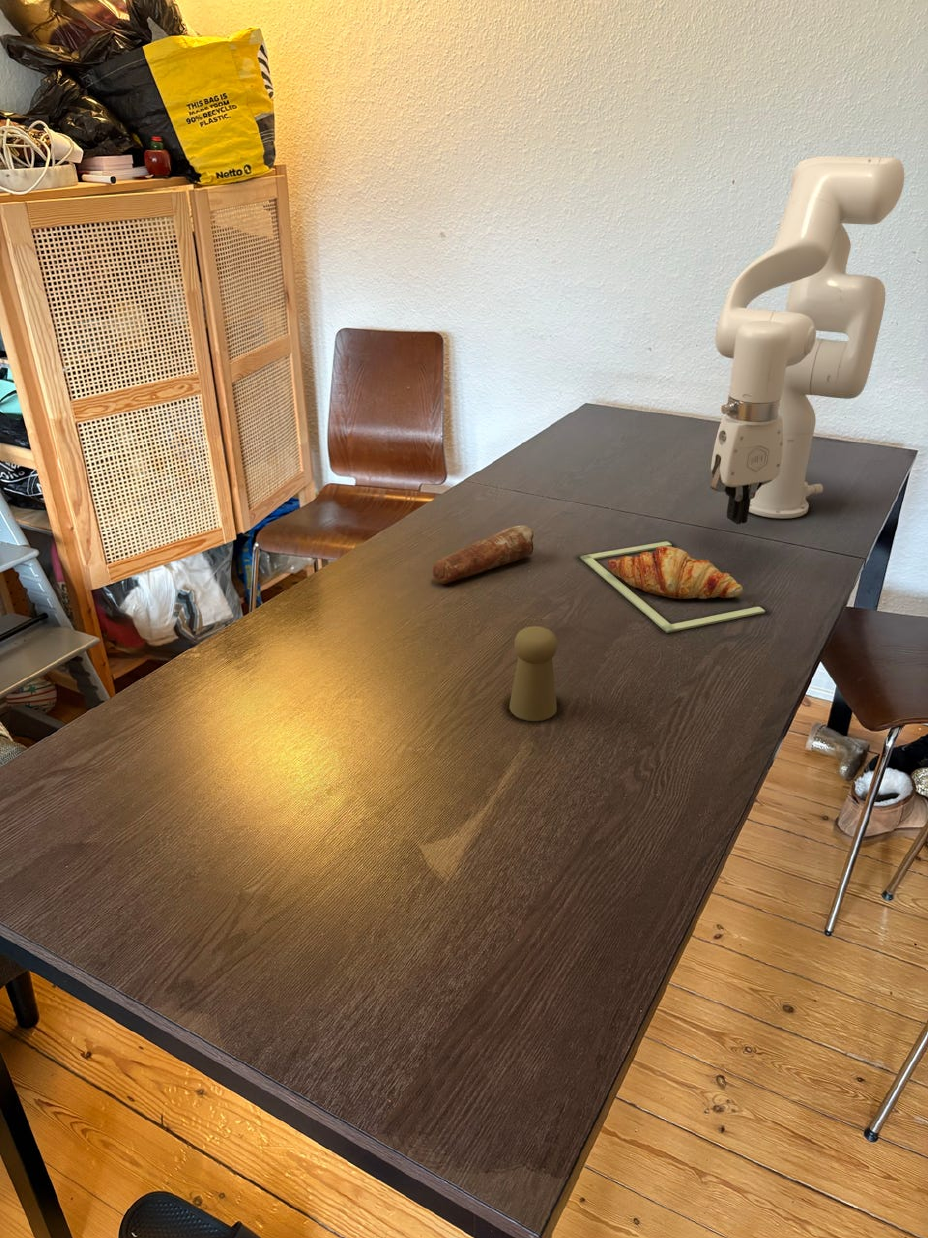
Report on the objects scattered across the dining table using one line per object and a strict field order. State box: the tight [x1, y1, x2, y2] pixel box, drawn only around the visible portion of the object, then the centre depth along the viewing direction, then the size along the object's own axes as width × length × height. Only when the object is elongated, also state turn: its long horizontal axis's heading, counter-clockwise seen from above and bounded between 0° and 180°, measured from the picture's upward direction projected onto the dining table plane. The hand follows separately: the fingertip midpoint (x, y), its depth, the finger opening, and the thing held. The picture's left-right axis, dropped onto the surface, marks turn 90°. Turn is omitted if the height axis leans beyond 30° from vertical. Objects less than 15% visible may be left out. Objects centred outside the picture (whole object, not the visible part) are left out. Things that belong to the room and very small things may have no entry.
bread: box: [432, 524, 534, 585], centre depth 149 cm, size 6×19×6 cm, turn 126°
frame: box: [579, 540, 766, 634], centre depth 145 cm, size 17×28×1 cm, turn 21°
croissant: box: [607, 546, 743, 600], centre depth 143 cm, size 21×10×8 cm
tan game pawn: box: [508, 625, 558, 722], centre depth 112 cm, size 6×6×11 cm
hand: (736, 520), depth 145 cm, fingers closed
